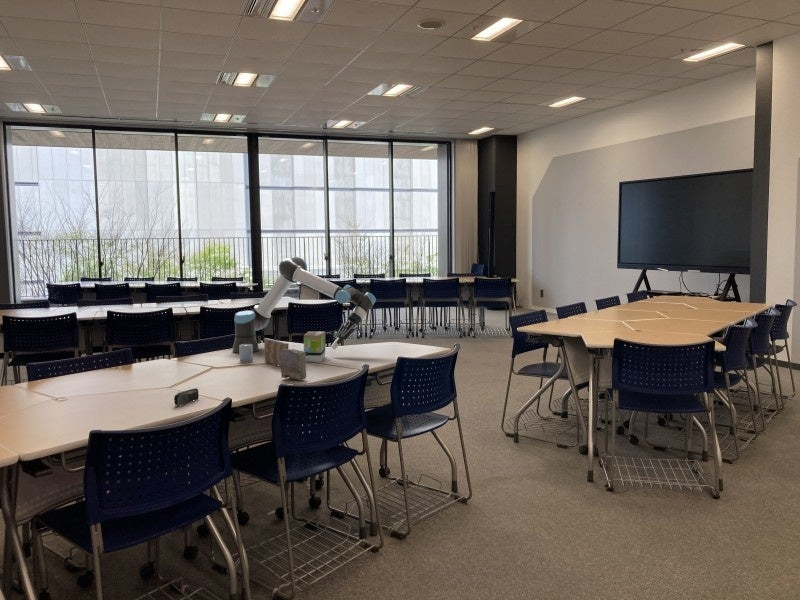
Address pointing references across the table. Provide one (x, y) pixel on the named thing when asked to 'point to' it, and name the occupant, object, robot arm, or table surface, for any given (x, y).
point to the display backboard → (274, 350)
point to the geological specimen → (293, 364)
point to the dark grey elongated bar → (186, 396)
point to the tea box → (314, 346)
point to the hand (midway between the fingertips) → (333, 347)
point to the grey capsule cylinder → (246, 352)
